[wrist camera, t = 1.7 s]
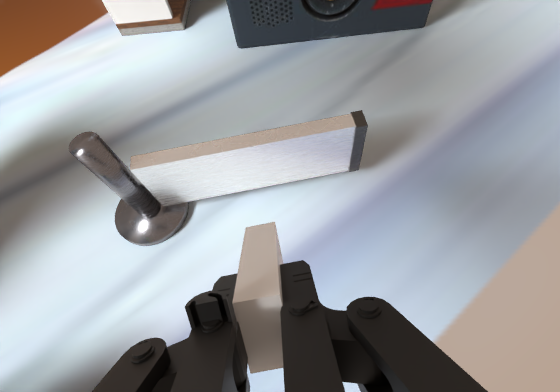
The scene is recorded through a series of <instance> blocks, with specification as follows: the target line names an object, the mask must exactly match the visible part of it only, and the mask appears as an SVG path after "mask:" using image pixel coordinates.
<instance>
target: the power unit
mask: <svg viewBox="0 0 560 392" xmlns="http://www.w3.org/2000/svg"><path fill="white" fill-rule="evenodd" d="M226 1H227V5H228V9H229V13H230V17H231V22H232V26H233V30H234V34H235V38H236V42H237V46H238V47H239V48H248V47H257V46H265V45H274V44H283V43H292V42H300V41H309V40H318V39H326V38H335V37H344V36H353V35H361V34H370V33H379V32H388V31H396V30H405V29H414V28H422V27H424V26H425V23H426V20H427V17H428V14H429V10H430V7H431V4H432V1H433V0H226Z"/></svg>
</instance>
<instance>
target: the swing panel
mask: <svg viewBox="0 0 560 392" xmlns="http://www.w3.org/2000/svg"><path fill="white" fill-rule="evenodd" d="M367 127H368V125H367V122H366V120H365V117H364V115H363V112H362V110H361V111H356V112H351V114H347V115H342V116H337V117H332V118H326V119H321V120H316V121H311V122H306V123H301V124H295V125H290V126H285V127H280V128H275V129H270V130H265V131H259V132H254V133H249V134H244V135H239V136H234V137H229V138H223V139H218V140H213V141H208V142H203V143H198V144H193V145H187V146H182V147H177V148H172V149H167V150H162V151H157V152H151V153H146V154H141V155H136V156H131V164H130V171H131V172H132V173H133V174H134V175H135V176H136V177H137V178H138V179H139V180H140V182H141V183H142V184H143V185H144V186H145V187H146V188H147V189H148V190H149V191H150V192H151V194H152V195H153V196H154V197H155V198H156V199H157V200H158V201H159V202H160V203H161V204H162V205H163V207H164V206H169V205H174V204H179V203H184V202H189V201H195V200H200V199H205V198H210V197H215V196H221V195H226V194H231V193H236V192H241V191H246V190H252V189H257V188H262V187H267V186H272V185H278V184H283V183H288V182H293V181H298V180H303V179H309V178H314V177H319V176H324V175H329V174H335V173H340V172H345V171H349V172H351V171H356V170H359V165H360V160H361V156H362V151H363V146H364V141H365V136H366V132H367Z"/></svg>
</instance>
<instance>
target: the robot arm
mask: <svg viewBox="0 0 560 392" xmlns="http://www.w3.org/2000/svg"><path fill="white" fill-rule="evenodd" d="M185 309H186V312H187V315H188V319H189V322H190V325H191V328H192V330H191V333H190V336H189V337H188V338H187V339H185V340H183V341H181V342H178V343H176V344H173V345H171V346H168V347H167V346H166V343H165V341H164V340H163V339H160V338H150V339H146V340H144V341H141V342H139V343H137V344H136V345H134V346H132V347H131V348H130V349H129V350H128V351H127V352H125V353H124V354H123V356H122V357H121V358H120V359H119V360H118V362H117V363H116V364H115V365H114V366H113V367H112V369H111V370H110V371H109V372H108V373H107V374H106V376H105V377H104V378H103V379H102V380H101V381H100V383H99V384H98V385H97V386H96V387H95V389H94V390H93V391H92V392H250V384H249V380H248V376H247V363H248V365H249V369H250V373H256V372H262V371H267V370H273V369H278V368H283V369H284V385H285V392H345V390H344V386H343V383H342V382H350V383H357V384H358V386H359V389H360V391H361V392H488V391H487V390H485V389H484V388H483V387H482V386H481V385H480V384H479V383H478V382H476V381H475V380H474V379H473V378H472V377H471V376H470V375H468V374H467V373H466V372H465V371H464V370H463V369H462V368H461V367H460V366H458V365H457V364H456V363H455V362H454V361H453V360H452V359H451V358H450V357H448V356H447V355H446V354H445V353H444V352H443V351H442V350H441V349H439V348H438V347H437V346H436V345H435V344H434V343H433V342H432V341H431V340H429V339H428V338H427V337H426V336H425V335H424V334H423V333H422V332H421V331H419V330H418V329H417V328H416V327H415V326H414V325H413V324H412V323H410V322H409V321H408V320H407V319H406V318H405V317H404V316H403V315H402V314H400V313H399V312H398V311H397V310H396V309H395V308H394V307H393V306H391V305H390V304H389V303H388V302H386V301H385V300H383V299H380V298H376V297H363V298H358V299H356V300H354V301H352V302H351V303H350V304H349V305H348V306H347V311H339V310H332V309H329V308H327V307H325V306H323V305H322V304H321V303H320V301H319V299H318V296H317V292H316V288H315V284H314V281H313V277H312V273H311V270H310V266H309V265H308V264H307V263H306V262H304V261H303V260H302V261H297V262H291V263H286V264H283V260H282V255H281V250H280V245H279V240H278V235H277V230H276V225H275V222H272V223H267V224H262V225H256V226H251V227H246V230H245V235H244V241H243V246H242V252H241V257H240V263H239V269H238V274H233V275H227V276H222V277H220V278H219V279H218V281H217V282H216V283H215V284H214V287H213V290H212V291H208V292H205V293H201V294H199V295H197V296H195V297H194V298H192V299H191V300H190V301H189V302H188V303H187V304H186V306H185Z"/></svg>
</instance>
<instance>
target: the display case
mask: <svg viewBox="0 0 560 392" xmlns="http://www.w3.org/2000/svg"><path fill="white" fill-rule="evenodd" d="M102 1H103V3H104V5H105V7H106V8H107V10H108V12H109V14H110V15H111V17H112V19H113V21H114V22H115V24H116V26H117V28H118V29H119V31H120V33H121V35H122V36H126V35H137V34H147V33H157V32H168V31H178V30H184V29H185V25H186V20H187V16H188V12H189V7H190V3H191V0H102Z"/></svg>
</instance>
